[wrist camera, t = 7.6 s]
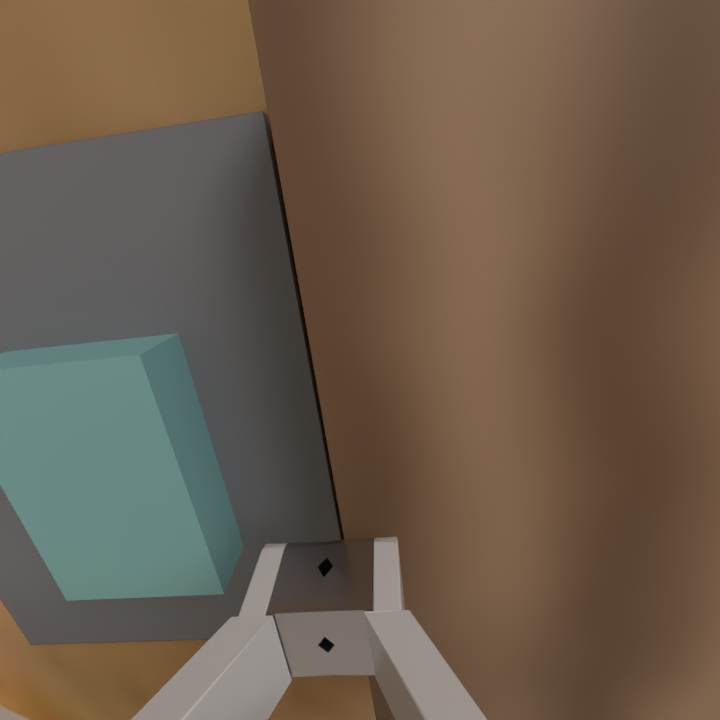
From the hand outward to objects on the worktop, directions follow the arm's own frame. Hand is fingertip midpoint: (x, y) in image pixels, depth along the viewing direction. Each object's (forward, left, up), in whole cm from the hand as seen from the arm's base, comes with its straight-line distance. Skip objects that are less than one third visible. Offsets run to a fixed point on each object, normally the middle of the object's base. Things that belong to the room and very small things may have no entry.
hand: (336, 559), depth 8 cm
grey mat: (+9, 0, -5) cm, 10 cm away
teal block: (+8, 0, -3) cm, 8 cm away
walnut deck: (-7, 0, -5) cm, 9 cm away
